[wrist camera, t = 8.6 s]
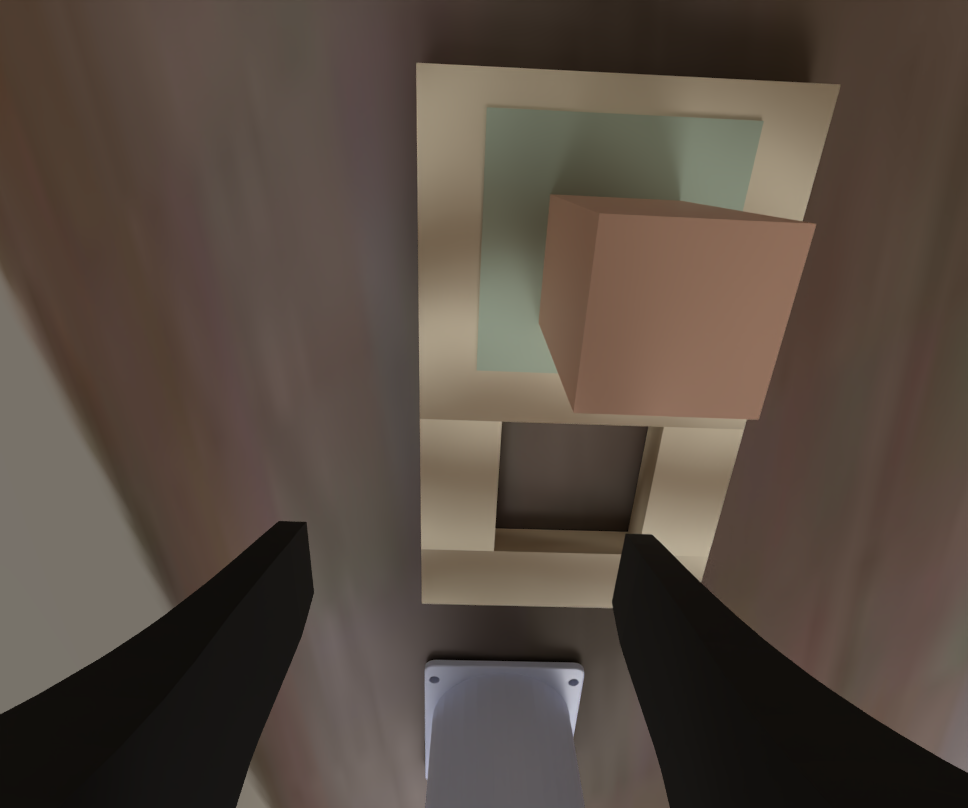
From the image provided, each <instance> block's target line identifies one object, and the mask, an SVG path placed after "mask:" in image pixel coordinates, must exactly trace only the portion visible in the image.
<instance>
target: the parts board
mask: <svg viewBox="0 0 968 808" xmlns="http://www.w3.org/2000/svg"><path fill="white" fill-rule="evenodd" d="M840 86H841V85H839V84H820V83H800V82H781V81H761V80H742V79H723V78H703V77H684V76H664V75H645V74H625V73H606V72H587V71H567V70H548V69H528V68H509V67H489V66H470V65H451V64H431V63H416V91H417V188H418V285H419V382H420V478H421V575H422V604H455V605H499V606H542V607H586V608H613V606H612V598H613V593H614V588H615V583H616V578H617V573H618V568H619V563H620V558H621V553H622V548H623V544H624V539H625V534H626V533H628V534H652V535H653V536H654V537H655V538H656V539H657V540H659V541H660V542H661V543H662V544H663V545H664V546H665V547H666V548H667V549H668V550H669V551H670V552H671V553H672V554H673V555H674V556H675V557H676V558H677V559H678V560H679V561H680V562H681V563H682V564H683V565H684V566H685V567H686V568H687V569H688V570H689V571H690V572H691V573H692V574H693V575H694V576H695V577H696V578H697V579H698V580H699V581H700V582H701V581H702V577H703V574H704V570H705V566H706V563H707V559H708V556H709V552H710V549H711V545H712V542H713V538H714V534H715V531H716V527H717V524H718V520H719V517H720V513H721V510H722V506H723V502H724V499H725V495H726V492H727V488H728V485H729V481H730V478H731V474H732V470H733V467H734V463H735V460H736V456H737V453H738V449H739V445H740V442H741V438H742V435H743V431H744V428H745V424H746V421H747V419H723V418H696V417H668V416H641V415H613V414H586V413H573V410H572V408H571V405H570V403H569V400H568V398H567V395H566V392H565V390H564V387H563V385H562V382H561V380H560V377H559V374H558V372H557V369H556V367H555V364H554V361H553V359H552V356H551V354H550V351H549V349H548V346H547V343H546V341H545V338H544V336H543V333H542V331H541V328H540V325H539V312H540V301H541V290H542V279H543V268H544V257H545V246H546V235H547V224H548V213H549V202H550V194H555V195H575V196H596V197H617V198H637V199H658V200H678V201H686V202H692V203H698V204H703V205H709V206H715V207H721V208H727V209H733V210H739V211H744V212H750V213H756V214H762V215H768V216H774V217H780V218H785V219H791V220H797V221H803V218H804V214H805V211H806V207H807V203H808V200H809V196H810V193H811V189H812V186H813V182H814V179H815V175H816V171H817V168H818V164H819V161H820V157H821V154H822V150H823V147H824V143H825V139H826V136H827V132H828V129H829V125H830V122H831V118H832V114H833V111H834V107H835V104H836V100H837V97H838V93H839V90H840ZM502 422H530V423H560V424H591V425H622V426H648V431H647V436H646V441H645V446H644V452H643V457H642V462H641V467H640V472H639V477H638V482H637V488H636V493H635V498H634V503H633V508H632V513H631V518H630V524H629V529H628V532H614V531H577V530H540V529H503V528H495V524H496V508H497V493H498V477H499V461H500V445H501V429H502Z"/></svg>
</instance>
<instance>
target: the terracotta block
mask: <svg viewBox="0 0 968 808" xmlns="http://www.w3.org/2000/svg"><path fill="white" fill-rule="evenodd" d="M815 227H816V224H815V223H809V222H803V221H797V220H791V219H785V218H780V217H774V216H768V215H762V214H756V213H750V212H744V211H739V210H733V209H727V208H721V207H715V206H709V205H703V204H698V203H692V202H686V201H678V200H658V199H637V198H617V197H596V196H575V195H555V194H550V202H549V213H548V224H547V235H546V246H545V257H544V268H543V279H542V290H541V301H540V312H539V325H540V328H541V331H542V333H543V336H544V338H545V341H546V343H547V346H548V349H549V351H550V354H551V356H552V359H553V361H554V364H555V367H556V369H557V372H558V374H559V377H560V380H561V382H562V385H563V387H564V390H565V392H566V395H567V398H568V400H569V403H570V405H571V408H572V410H573V413H586V414H613V415H641V416H668V417H696V418H723V419H751V420H759V417H760V413H761V410H762V407H763V403H764V400H765V396H766V393H767V390H768V386H769V383H770V379H771V376H772V373H773V369H774V366H775V363H776V359H777V356H778V352H779V349H780V346H781V342H782V339H783V335H784V332H785V329H786V325H787V322H788V319H789V315H790V312H791V308H792V305H793V302H794V298H795V295H796V291H797V288H798V285H799V281H800V278H801V275H802V271H803V268H804V264H805V261H806V258H807V254H808V251H809V247H810V244H811V241H812V237H813V234H814V231H815Z"/></svg>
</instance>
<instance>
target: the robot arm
mask: <svg viewBox="0 0 968 808" xmlns="http://www.w3.org/2000/svg"><path fill="white" fill-rule="evenodd" d="M313 594H314V588H313V579H312V570H311V560H310V551H309V542H308V532H307V523H306V522H290V521H279V522H277V523H276V524H275V525H274V526H273V527H271V528H270V529H269V530H268V531H267V532H265V533H264V534H263V535H262V536H261V537H260V538H259V539H257V540H256V541H255V542H254V543H253V544H252V545H250V546H249V547H248V548H247V549H246V550H245V551H244V552H242V553H241V554H240V555H239V556H238V557H237V558H235V559H234V560H233V561H232V562H231V563H230V564H228V565H227V566H226V567H225V568H224V569H222V570H221V571H220V572H219V573H218V574H216V575H215V576H214V577H213V578H212V579H210V580H209V581H208V582H207V583H206V584H204V585H203V586H202V587H201V588H199V589H198V590H197V591H195V592H194V593H193V594H191V595H190V596H189V597H188V598H186V599H185V600H184V601H182V602H181V603H180V604H178V605H177V606H176V607H175V608H173V609H172V610H171V611H169V612H168V613H167V614H165V615H164V616H163V617H161V618H160V619H159V620H157V621H156V622H154V623H153V624H151V625H150V626H149V627H147V628H146V629H144V630H143V631H141V632H140V633H139V634H137V635H135V636H134V637H132V638H131V639H129V640H128V641H126V642H125V643H123V644H122V645H120V646H119V647H117V648H116V649H114V650H113V651H111V652H109V653H108V654H106V655H105V656H103V657H101V658H100V659H98V660H96V661H95V662H93V663H91V664H90V665H88V666H86V667H84V668H83V669H81V670H79V671H78V672H76V673H74V674H73V675H71V676H69V677H68V678H66V679H64V680H62V681H61V682H59V683H57V684H55V685H54V686H52V687H50V688H49V689H47V690H45V691H44V692H42V693H40V694H38V695H36V696H35V697H32V698H31V699H29V700H27V701H25V702H23V703H21V704H19V705H17V706H15V707H14V708H12V709H10V710H8V711H6V712H4V713H2V714H0V808H236V806H237V802H238V799H239V796H240V793H241V790H242V787H243V783H244V780H245V777H246V774H247V771H248V768H249V765H250V762H251V759H252V756H253V754H254V751H255V748H256V746H257V743H258V740H259V738H260V735H261V733H262V730H263V728H264V726H265V723H266V721H267V719H268V716H269V714H270V711H271V709H272V707H273V704H274V702H275V699H276V697H277V695H278V692H279V690H280V688H281V685H282V683H283V680H284V678H285V676H286V673H287V671H288V668H289V666H290V664H291V661H292V659H293V656H294V654H295V651H296V649H297V646H298V644H299V642H300V639H301V637H302V633H303V630H304V626H305V623H306V620H307V616H308V613H309V609H310V605H311V601H312V598H313ZM612 606H613V611H614V616H615V621H616V626H617V631H618V636H619V640H620V645H621V648H622V651H623V655H624V658H625V661H626V664H627V667H628V670H629V673H630V676H631V679H632V682H633V685H634V688H635V691H636V694H637V697H638V700H639V703H640V706H641V709H642V712H643V715H644V718H645V721H646V724H647V727H648V730H649V733H650V736H651V739H652V742H653V745H654V748H655V751H656V755H657V758H658V761H659V765H660V768H661V772H662V776H663V780H664V784H665V788H666V793H667V797H668V801H669V805H670V808H968V773H967V772H965V771H963V770H961V769H959V768H957V767H956V766H954V765H952V764H950V763H948V762H946V761H945V760H943V759H941V758H939V757H938V756H936V755H934V754H933V753H931V752H929V751H927V750H926V749H924V748H922V747H921V746H919V745H917V744H915V743H914V742H912V741H910V740H909V739H907V738H905V737H904V736H902V735H900V734H898V733H897V732H895V731H894V730H892V729H890V728H889V727H887V726H886V725H884V724H882V723H881V722H879V721H877V720H876V719H874V718H873V717H871V716H870V715H868V714H866V713H865V712H863V711H862V710H860V709H859V708H857V707H856V706H854V705H853V704H851V703H850V702H848V701H847V700H845V699H844V698H842V697H841V696H839V695H838V694H836V693H835V692H833V691H832V690H830V689H829V688H828V687H826V686H825V685H823V684H822V683H821V682H819V681H818V680H816V679H815V678H813V677H812V676H811V675H809V674H808V673H807V672H805V671H804V670H803V669H801V668H800V667H799V666H797V665H796V664H795V663H793V662H792V661H791V660H790V659H788V658H787V657H786V656H784V655H783V654H782V653H780V652H779V651H778V650H776V649H775V648H774V647H773V646H771V645H770V644H769V643H768V642H767V641H765V640H764V639H763V638H762V637H760V636H759V635H758V634H757V633H756V632H755V631H753V630H752V629H751V628H750V627H749V626H748V625H747V624H745V623H744V622H743V621H742V620H741V619H740V618H738V617H737V616H736V615H735V614H734V613H733V612H732V611H731V610H729V609H728V608H727V607H726V606H725V605H724V604H723V603H722V602H721V601H720V600H719V599H717V598H716V597H715V596H714V595H713V594H712V593H711V592H710V591H709V590H708V589H707V588H706V587H705V586H704V585H703V584H702V583H701V582H700V581H699V580H698V579H697V578H696V577H695V576H694V575H693V574H692V573H691V572H690V571H689V570H688V569H687V568H686V567H685V566H684V565H683V564H682V563H681V562H680V561H679V560H678V559H677V558H676V557H675V556H674V555H673V554H672V553H671V552H670V551H669V550H668V549H667V548H666V547H665V546H664V545H663V544H662V543H661V542H660V541H659V540H657V539H656V538H655V537H654V536H653V535H652V534H628V533H626V534H625V539H624V544H623V548H622V553H621V558H620V563H619V568H618V573H617V578H616V583H615V588H614V593H613V598H612ZM435 676H436V677H435ZM583 680H584V669H583V666H582V665H581V664H579V663H574V662H523V661H473V660H431V661H429V662H427V663H426V665H425V777H426V779H427V791H426V803H425V808H585V805H584V799H583V793H582V787H581V781H580V775H579V769H578V763H577V757H576V751H575V745H574V739H573V737H574V731H575V726H576V720H577V714H578V709H579V703H580V697H581V692H582V686H583Z"/></svg>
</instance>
